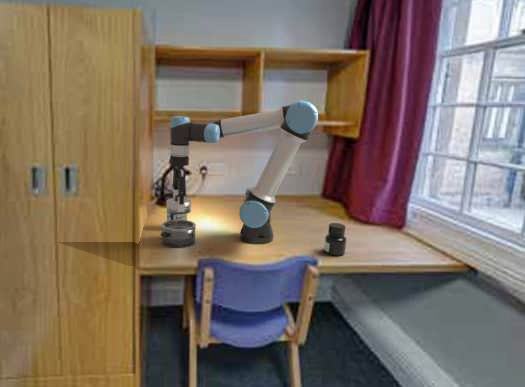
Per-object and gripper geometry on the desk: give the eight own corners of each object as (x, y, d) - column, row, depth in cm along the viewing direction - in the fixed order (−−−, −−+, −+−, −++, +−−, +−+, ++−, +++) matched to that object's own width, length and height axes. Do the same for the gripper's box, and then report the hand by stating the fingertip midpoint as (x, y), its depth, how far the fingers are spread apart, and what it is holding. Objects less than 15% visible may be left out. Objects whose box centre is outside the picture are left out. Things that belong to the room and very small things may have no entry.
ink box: (168, 231, 190) (168, 206, 187) (166, 228, 194) (166, 203, 192) (187, 229, 193) (187, 205, 191) (184, 226, 198) (185, 202, 195)
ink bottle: (327, 246, 182) (329, 220, 179) (347, 250, 179) (350, 224, 176) (321, 254, 173) (323, 226, 170) (342, 258, 170) (345, 230, 167)
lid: (195, 210, 176) (196, 195, 175) (180, 215, 168) (180, 200, 166) (177, 206, 181) (177, 191, 179) (161, 211, 172) (161, 196, 171)
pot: (179, 233, 188) (180, 216, 187) (204, 239, 182) (205, 222, 180) (150, 244, 173) (150, 226, 171) (177, 252, 166) (177, 233, 164)
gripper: (166, 151, 178) (165, 201, 183) (174, 159, 157) (174, 216, 162) (183, 151, 180) (182, 201, 185) (194, 159, 160) (193, 215, 165)
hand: (178, 208), depth 174 cm, fingers closed on lid, 10 cm apart
